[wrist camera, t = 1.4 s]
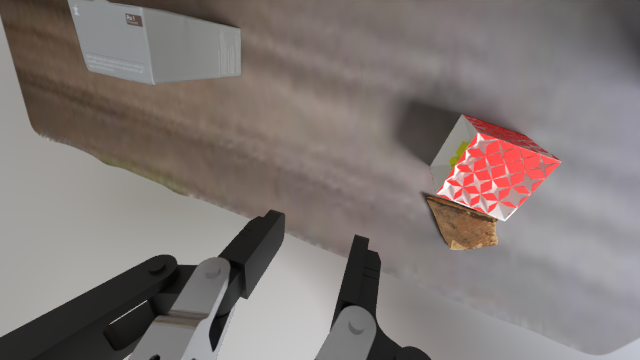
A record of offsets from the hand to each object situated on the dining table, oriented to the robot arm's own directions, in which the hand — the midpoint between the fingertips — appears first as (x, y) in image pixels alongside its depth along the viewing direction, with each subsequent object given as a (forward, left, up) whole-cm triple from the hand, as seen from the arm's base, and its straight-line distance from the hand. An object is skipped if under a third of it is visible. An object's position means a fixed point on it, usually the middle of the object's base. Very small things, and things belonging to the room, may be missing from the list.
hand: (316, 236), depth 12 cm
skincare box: (+24, -6, -25) cm, 35 cm away
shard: (-16, +14, -26) cm, 34 cm away
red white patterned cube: (-14, +2, -26) cm, 29 cm away
